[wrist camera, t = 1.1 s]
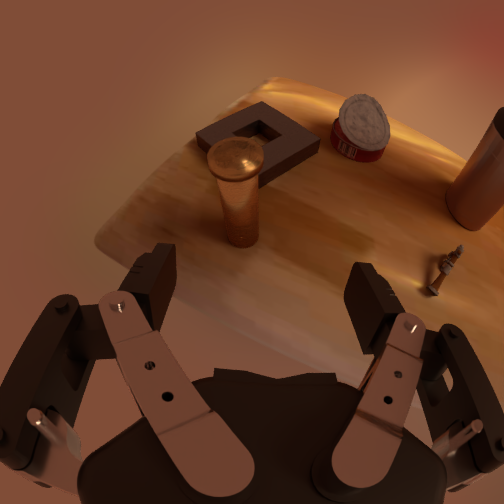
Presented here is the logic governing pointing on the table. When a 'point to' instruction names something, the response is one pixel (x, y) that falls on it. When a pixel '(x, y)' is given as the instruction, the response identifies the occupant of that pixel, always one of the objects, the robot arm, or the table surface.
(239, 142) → the bushing
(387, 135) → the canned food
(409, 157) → the table surface
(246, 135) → the jig
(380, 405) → the robot arm
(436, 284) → the brown turned rod
